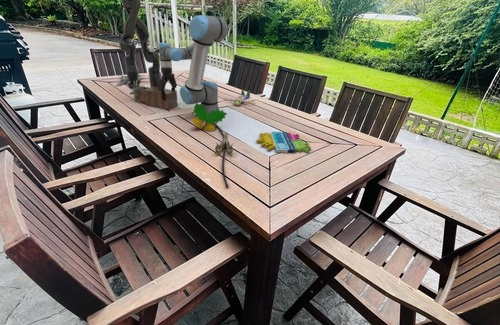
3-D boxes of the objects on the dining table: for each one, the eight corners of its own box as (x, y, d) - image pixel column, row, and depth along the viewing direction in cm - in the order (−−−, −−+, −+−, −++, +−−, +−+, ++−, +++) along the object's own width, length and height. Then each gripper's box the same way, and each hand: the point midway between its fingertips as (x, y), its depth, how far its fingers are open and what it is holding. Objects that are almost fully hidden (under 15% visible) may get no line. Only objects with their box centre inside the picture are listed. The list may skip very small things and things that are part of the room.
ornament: (218, 133, 171) (224, 110, 169) (221, 134, 163) (227, 111, 161) (186, 125, 162) (192, 101, 160) (189, 126, 155) (195, 101, 153)
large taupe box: (145, 104, 197) (143, 89, 191) (155, 101, 206) (153, 86, 200) (168, 109, 191) (167, 94, 185) (177, 105, 200) (176, 90, 194)
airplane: (112, 78, 264) (110, 67, 259) (144, 76, 278) (143, 66, 272) (114, 87, 236) (112, 76, 231) (151, 85, 249) (149, 74, 244)
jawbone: (234, 135, 144) (233, 125, 135) (233, 160, 138) (232, 151, 129) (217, 135, 144) (216, 125, 135) (216, 160, 138) (214, 150, 129)
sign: (313, 150, 142) (258, 149, 139) (312, 153, 143) (258, 152, 140) (301, 132, 164) (254, 130, 161) (301, 134, 165) (254, 133, 162)
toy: (261, 91, 228) (254, 99, 202) (261, 99, 231) (253, 108, 205) (231, 87, 233) (220, 95, 207) (230, 95, 236) (219, 104, 210)
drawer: (129, 99, 202) (127, 87, 197) (138, 96, 210) (136, 84, 205) (155, 105, 194) (154, 92, 190) (164, 102, 202) (162, 89, 198)
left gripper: (134, 68, 201) (137, 91, 210) (121, 71, 190) (125, 95, 199) (142, 70, 199) (145, 92, 207) (129, 72, 188) (133, 96, 197)
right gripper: (172, 64, 193) (174, 93, 204) (150, 68, 174) (154, 101, 184) (180, 65, 191) (182, 95, 202) (159, 70, 172) (163, 102, 182)
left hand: (135, 93), depth 203 cm, fingers closed
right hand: (168, 98), depth 193 cm, fingers closed on large taupe box, 11 cm apart
